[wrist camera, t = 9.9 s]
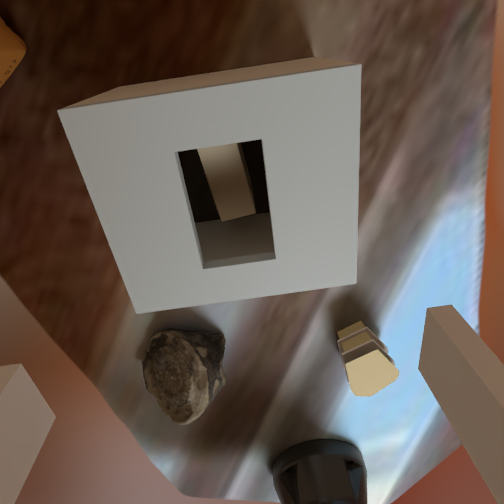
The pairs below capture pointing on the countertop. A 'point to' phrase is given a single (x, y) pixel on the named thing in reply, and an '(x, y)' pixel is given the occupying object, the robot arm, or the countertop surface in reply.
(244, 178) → the tan rectangular block
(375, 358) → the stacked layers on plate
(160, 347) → the fossil
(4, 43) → the coffee package
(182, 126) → the slot box
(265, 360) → the countertop surface
